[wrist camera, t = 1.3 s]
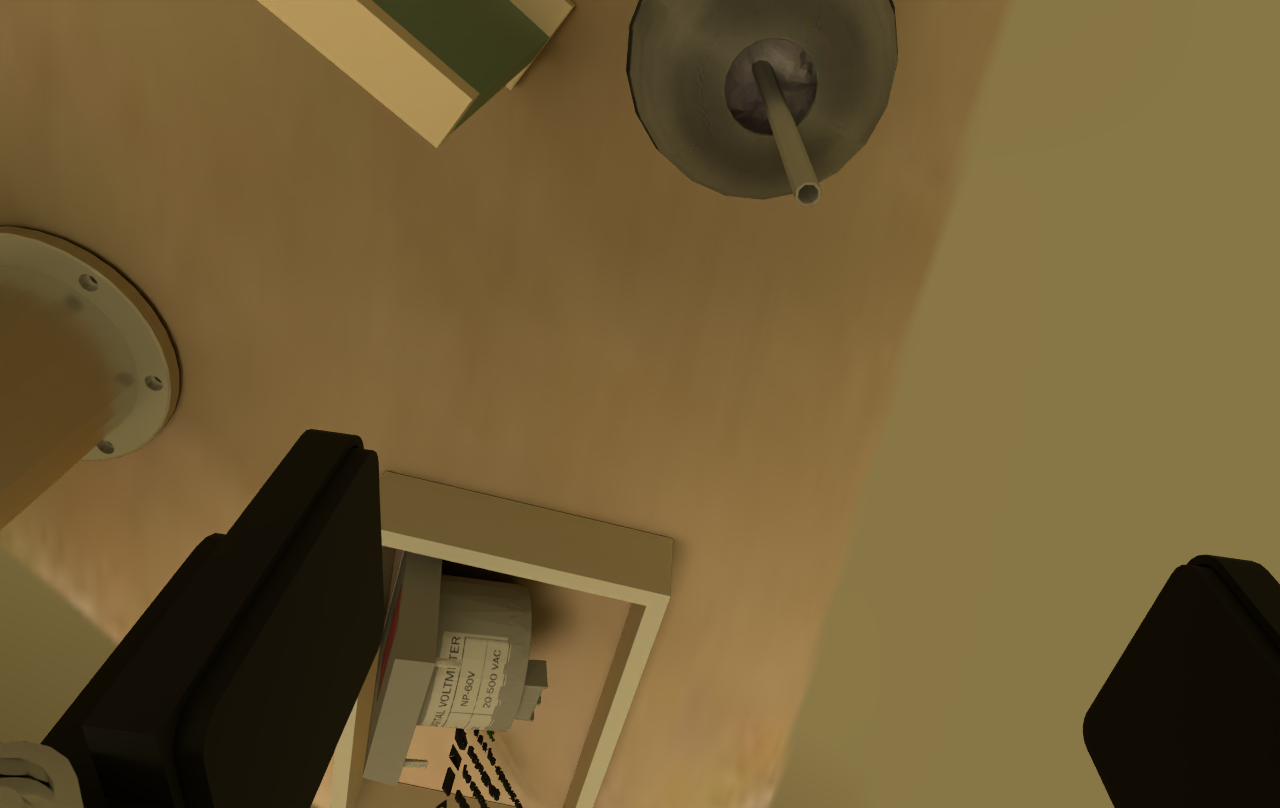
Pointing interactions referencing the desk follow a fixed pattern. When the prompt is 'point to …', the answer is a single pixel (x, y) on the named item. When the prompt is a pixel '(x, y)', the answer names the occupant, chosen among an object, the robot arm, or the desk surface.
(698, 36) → the beverage cup
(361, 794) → the tool caddy
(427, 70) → the chalkboard panel
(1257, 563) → the robot arm
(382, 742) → the voltmeter
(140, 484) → the desk surface
